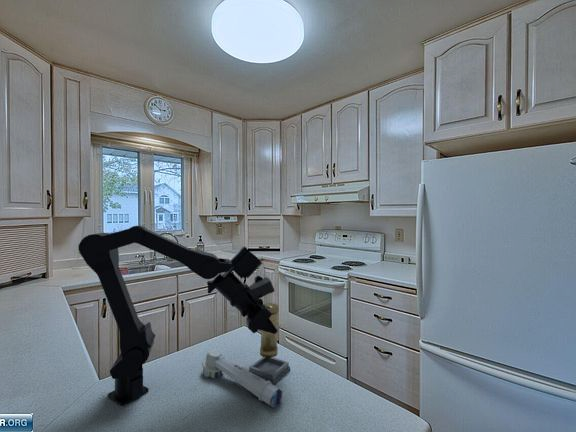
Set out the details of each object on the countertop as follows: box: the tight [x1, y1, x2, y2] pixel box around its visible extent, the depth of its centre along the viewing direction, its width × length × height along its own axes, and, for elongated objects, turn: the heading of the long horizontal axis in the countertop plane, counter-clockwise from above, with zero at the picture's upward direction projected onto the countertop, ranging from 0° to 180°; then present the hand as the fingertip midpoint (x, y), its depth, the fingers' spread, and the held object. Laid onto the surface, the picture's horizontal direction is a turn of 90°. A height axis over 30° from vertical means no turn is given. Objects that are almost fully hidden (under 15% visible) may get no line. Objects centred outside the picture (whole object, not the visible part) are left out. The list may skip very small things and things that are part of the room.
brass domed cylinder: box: [259, 302, 280, 358], centre depth 76 cm, size 5×5×13 cm
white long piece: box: [201, 348, 283, 409], centre depth 70 cm, size 5×7×25 cm
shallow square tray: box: [248, 356, 291, 386], centre depth 76 cm, size 8×8×2 cm
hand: (274, 328), depth 76 cm, fingers closed on brass domed cylinder, 4 cm apart
